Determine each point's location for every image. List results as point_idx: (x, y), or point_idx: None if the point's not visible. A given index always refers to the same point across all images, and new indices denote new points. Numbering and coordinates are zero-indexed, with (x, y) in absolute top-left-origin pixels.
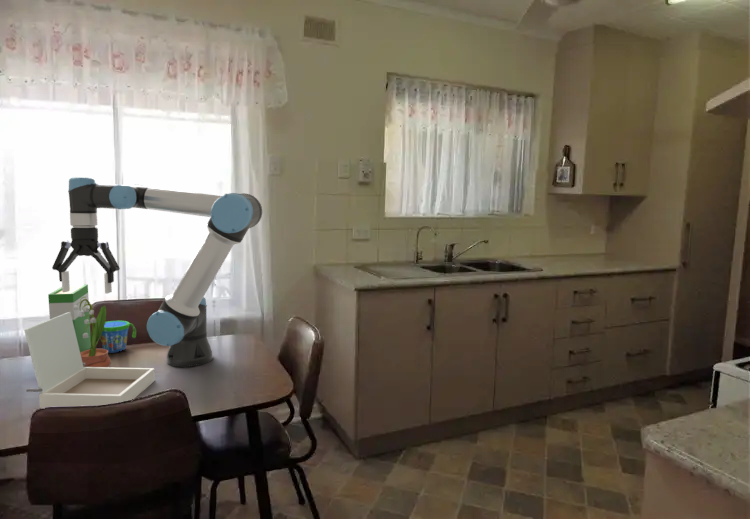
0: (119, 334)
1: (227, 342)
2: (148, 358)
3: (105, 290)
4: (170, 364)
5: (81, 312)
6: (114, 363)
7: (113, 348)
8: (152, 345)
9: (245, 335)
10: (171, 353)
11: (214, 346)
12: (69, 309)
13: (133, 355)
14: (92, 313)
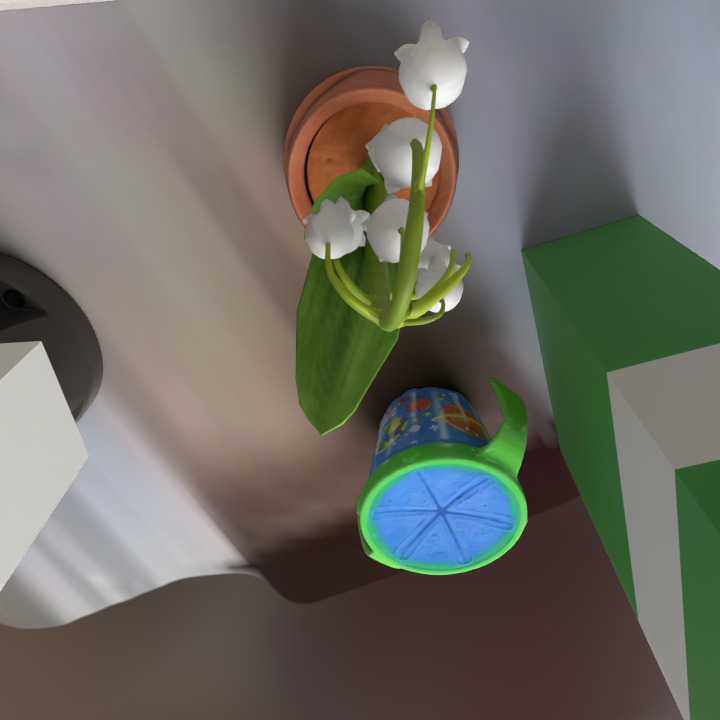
0: (382, 454)
1: None
2: (204, 344)
3: (1, 370)
4: (23, 265)
5: (394, 136)
6: None
7: (409, 399)
8: (300, 495)
9: (14, 624)
10: (15, 315)
11: None
12: (681, 415)
13: None
14: (313, 217)
